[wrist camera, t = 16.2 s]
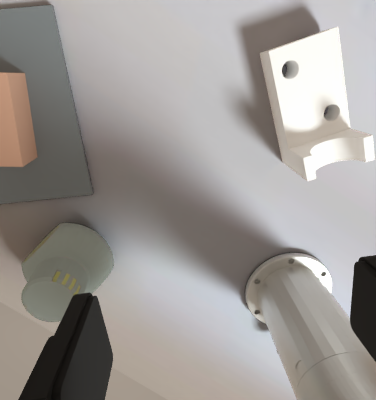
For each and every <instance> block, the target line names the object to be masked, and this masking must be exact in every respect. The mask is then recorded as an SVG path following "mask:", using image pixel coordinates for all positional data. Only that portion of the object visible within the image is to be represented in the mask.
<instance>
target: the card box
mask: <svg viewBox="0 0 376 400" xmlns="http://www.w3.org/2000/svg"><path fill="white" fill-rule="evenodd" d="M37 157H38V156H37V150H36V143H35V136H34V130H33V123H32V116H31V110H30V103H29V97H28V90H27V83H26V77H25V73H9V72H0V167H24V166H25V165H27V164H28V163H30V162H31V161H33V160H34V159H36V158H37Z"/></svg>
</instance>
